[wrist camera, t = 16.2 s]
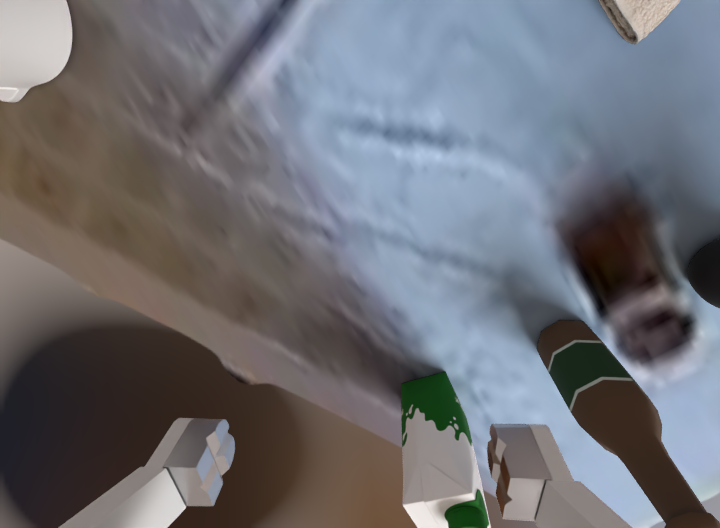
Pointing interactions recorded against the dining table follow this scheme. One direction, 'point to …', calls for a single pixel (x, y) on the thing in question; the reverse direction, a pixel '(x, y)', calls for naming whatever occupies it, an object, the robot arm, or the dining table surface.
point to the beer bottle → (619, 418)
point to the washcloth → (637, 16)
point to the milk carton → (439, 458)
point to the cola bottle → (706, 273)
